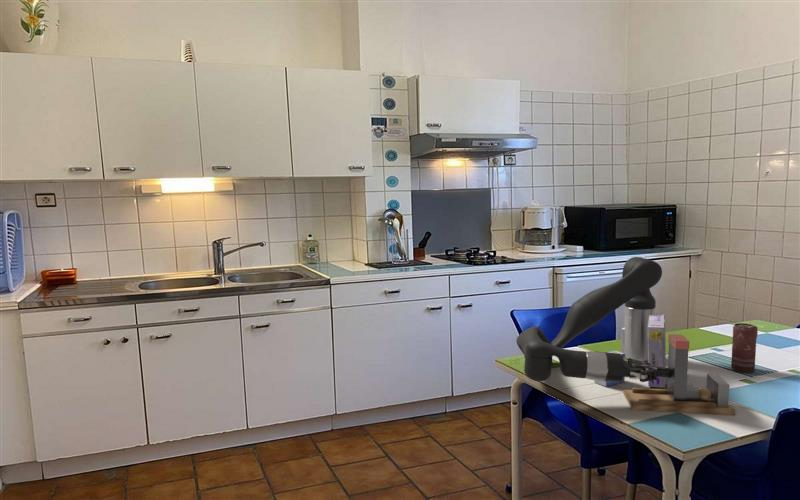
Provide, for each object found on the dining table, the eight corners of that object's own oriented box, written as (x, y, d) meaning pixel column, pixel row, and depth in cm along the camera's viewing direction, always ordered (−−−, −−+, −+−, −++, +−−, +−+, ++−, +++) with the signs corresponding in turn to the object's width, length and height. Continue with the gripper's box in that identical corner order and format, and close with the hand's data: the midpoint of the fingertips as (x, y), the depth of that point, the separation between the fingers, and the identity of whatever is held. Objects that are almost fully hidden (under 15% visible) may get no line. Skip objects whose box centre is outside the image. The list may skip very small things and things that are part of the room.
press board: (632, 409, 141) (632, 401, 141) (623, 393, 152) (623, 386, 152) (734, 415, 137) (735, 406, 137) (718, 398, 148) (718, 390, 147)
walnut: (692, 400, 144) (693, 387, 143) (699, 397, 146) (700, 384, 145) (706, 404, 141) (707, 391, 140) (713, 401, 143) (714, 388, 142)
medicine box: (605, 387, 157) (606, 357, 156) (593, 382, 161) (594, 353, 160) (625, 382, 161) (625, 353, 160) (612, 377, 165) (613, 349, 164)
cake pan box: (647, 367, 173) (649, 311, 171) (665, 369, 171) (667, 313, 169) (645, 387, 156) (647, 326, 154) (665, 390, 154) (667, 328, 152)
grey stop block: (717, 407, 139) (718, 384, 138) (706, 395, 147) (707, 373, 146) (728, 407, 138) (729, 384, 138) (716, 395, 146) (717, 373, 145)
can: (759, 373, 165) (761, 328, 164) (735, 372, 167) (738, 327, 165) (750, 367, 171) (753, 322, 170) (728, 366, 173) (730, 322, 171)
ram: (673, 401, 141) (675, 340, 140) (666, 392, 148) (668, 334, 146) (699, 402, 140) (701, 341, 138) (691, 393, 147) (693, 334, 145)
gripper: (595, 372, 152) (660, 378, 150) (607, 388, 139) (679, 396, 137) (597, 345, 151) (663, 351, 149) (610, 359, 138) (682, 366, 136)
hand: (671, 372), depth 143 cm, fingers closed
